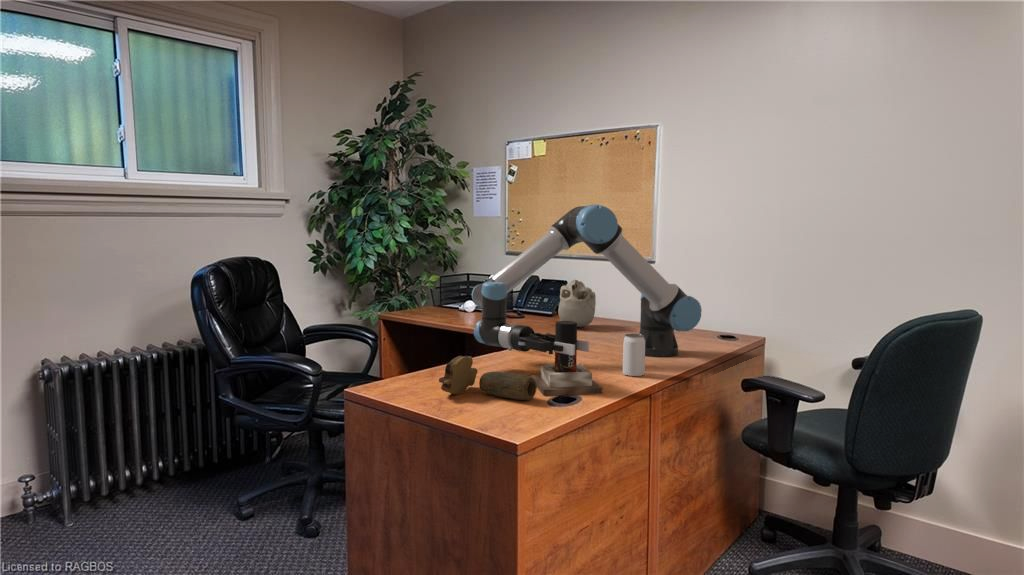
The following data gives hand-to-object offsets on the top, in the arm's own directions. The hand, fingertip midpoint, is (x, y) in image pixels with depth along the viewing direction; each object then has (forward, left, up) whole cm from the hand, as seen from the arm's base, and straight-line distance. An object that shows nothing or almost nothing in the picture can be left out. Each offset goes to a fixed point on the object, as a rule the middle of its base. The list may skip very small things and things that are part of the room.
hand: (581, 348), depth 164 cm
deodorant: (+3, -4, -9) cm, 10 cm away
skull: (-27, -100, -12) cm, 104 cm away
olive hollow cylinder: (+21, +4, -12) cm, 24 cm away
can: (-21, -15, -12) cm, 28 cm away
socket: (+3, -4, -11) cm, 13 cm away
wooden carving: (+33, -2, -12) cm, 35 cm away
